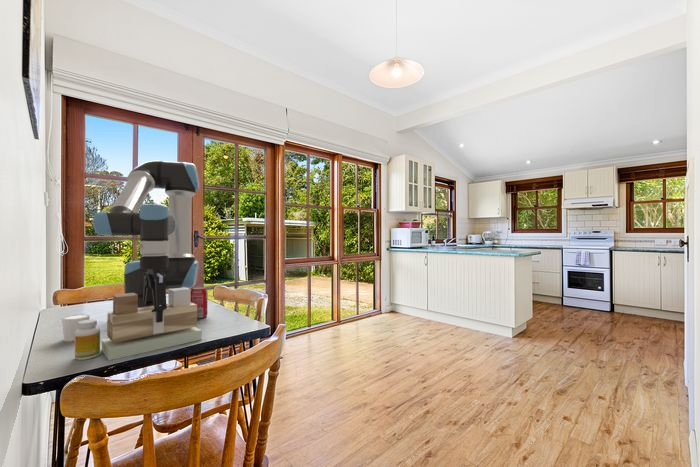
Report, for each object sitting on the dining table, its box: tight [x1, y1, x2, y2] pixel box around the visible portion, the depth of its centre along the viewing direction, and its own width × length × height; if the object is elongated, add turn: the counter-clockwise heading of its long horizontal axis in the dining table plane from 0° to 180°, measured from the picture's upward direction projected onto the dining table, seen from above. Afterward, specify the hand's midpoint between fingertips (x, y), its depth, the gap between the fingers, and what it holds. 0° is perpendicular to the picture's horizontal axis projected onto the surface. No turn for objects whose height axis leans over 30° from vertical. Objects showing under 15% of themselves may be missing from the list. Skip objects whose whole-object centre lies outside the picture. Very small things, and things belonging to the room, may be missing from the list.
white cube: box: [167, 287, 192, 307], centre depth 103 cm, size 5×5×5 cm
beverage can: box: [191, 286, 209, 320], centre depth 130 cm, size 6×6×12 cm
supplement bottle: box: [74, 319, 101, 361], centre depth 88 cm, size 5×5×10 cm
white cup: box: [61, 314, 91, 342], centre depth 104 cm, size 7×7×7 cm
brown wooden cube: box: [112, 293, 138, 315], centre depth 93 cm, size 5×5×5 cm
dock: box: [101, 327, 203, 361], centre depth 98 cm, size 11×24×3 cm, turn 136°
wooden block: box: [106, 302, 198, 343], centre depth 98 cm, size 8×22×7 cm, turn 136°
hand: (154, 329), depth 98 cm, fingers closed on wooden block, 8 cm apart
